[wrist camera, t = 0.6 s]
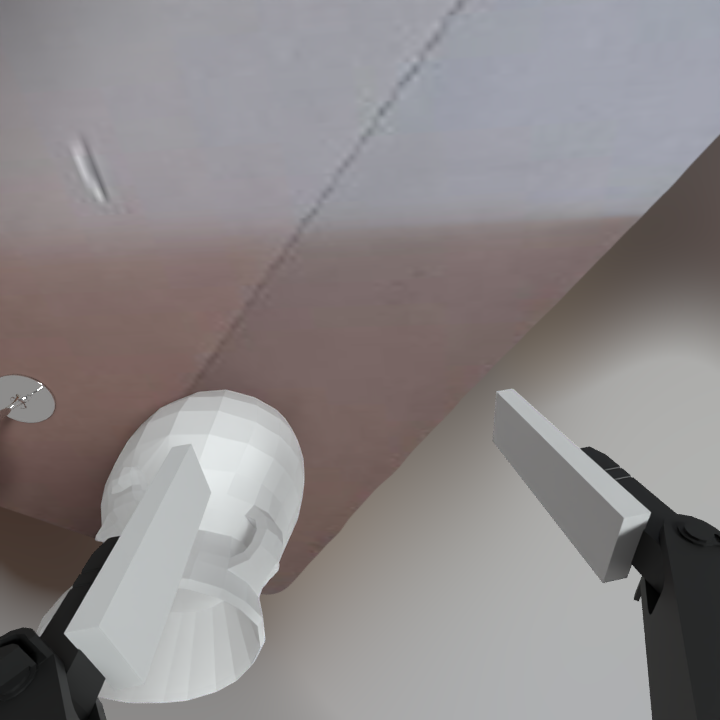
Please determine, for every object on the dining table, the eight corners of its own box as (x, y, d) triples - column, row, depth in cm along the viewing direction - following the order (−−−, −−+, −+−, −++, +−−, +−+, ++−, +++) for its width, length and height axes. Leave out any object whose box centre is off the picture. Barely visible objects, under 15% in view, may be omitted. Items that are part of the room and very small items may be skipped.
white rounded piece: (253, 336, 39) (175, 506, 17) (330, 442, 47) (349, 655, 25) (123, 408, 41) (-107, 654, 18) (219, 499, 49) (140, 750, 26)
